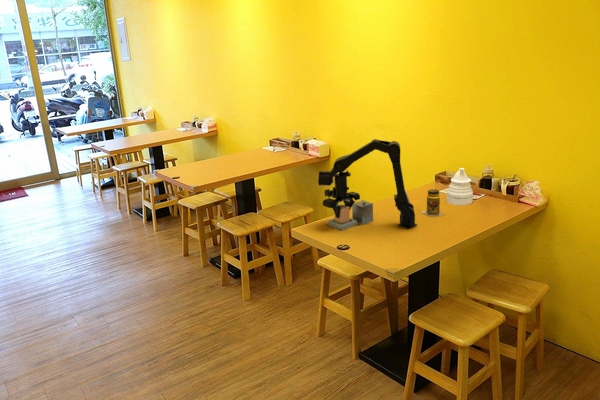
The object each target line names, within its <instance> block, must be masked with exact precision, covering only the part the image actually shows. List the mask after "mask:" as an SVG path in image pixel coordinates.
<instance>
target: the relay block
mask: <svg viewBox="0 0 600 400" xmlns="http://www.w3.org/2000/svg"><path fill="white" fill-rule="evenodd" d="M338 205H339V206H340V215H339V218H337V217H336V215H335V214H334V218H335V221H337V222H339V223H345V222H348V221H350V218H351V217H350V211H351V209H350V207H348V206H345V204H338Z"/></svg>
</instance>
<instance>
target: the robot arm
mask: <svg viewBox="0 0 600 400" xmlns="http://www.w3.org/2000/svg"><path fill="white" fill-rule="evenodd" d="M375 150H376V151H380V152H381V153H385V154H388V157H389V160H390V162H391V164H392V170H393V176H394V181H395V188H396V194H393V199H394V204H395V208H397V211H399V213H400V214H399V223H398V224H397V226H399V227H402V228H405V229H408V230H409V229H411V228H414V227H417V226H418V223H416V214H415V206H414V205H413V204H412V203H411V202H410V199H409V196H408V194H407V192H406V189H405V183H404V182H405V181H404V177H403V176H404V175H403V170H402V164H401V163H402V162H401V145H400V143H399V142H398V141H395V140H391V141H388V140H381V139H376V138H374V139H372V140H371V141H370V142H368V143H366V144H365V145H362V146H361V147H360V148H358V149H357V150H354V151H353V152H351V153H350V154H346V155H343V156H340V157H337V158H336V159H335V161H334V164H333V166H332V168H331V170H326V171H325V170H324V171H323V170H319V171H318V179H317V181H318V183H317V184H318V186H322V187H323V186H328V187H329V186H332V184H334V186H333V187H332V189H331V190H330V188H328V189H324V192H323V193H324V197H328V198H325V199H323V200H322V207H326V208H329V209H332V211H333V212H334V213H333V214H334V216H335V215H336V217H337V218H339V215H340V206H339V205H340V204H339V203H341V202H343V203H344V204H343V205H345V206H348V207H350V210H352V205H353V203H355V202H356V201H358V200H359V201H360V199H361V195H360V193H359V192H355V191H350V192H348V191H349V190H350V187H349V186H348V177H351V176H352V172H350V171H349V170H347V169H348V168H350V166H351V165H352V164H354V163H355V162H357V161H359V160H360V159H361V158H363V157H365V156H367V155H368V154H370V153H372V152H374V151H375Z"/></svg>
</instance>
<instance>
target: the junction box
mask: <svg viewBox="0 0 600 400" xmlns="http://www.w3.org/2000/svg"><path fill="white" fill-rule="evenodd" d="M351 215H352V216H351V217H352V218H351V219H354V220H356V221H357V224H359V225H362V226H363V225H366V224H368V223H372V222H374V203H373V202H370V201H367V200H363V199H362V200H359V201H355V203H353V205H352V207H351Z"/></svg>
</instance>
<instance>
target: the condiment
mask: <svg viewBox="0 0 600 400" xmlns="http://www.w3.org/2000/svg"><path fill="white" fill-rule="evenodd" d="M440 196H441V195H440V190H439V189H436V188H435V189H433V188H431V189H429V190H427V195H426V210H424V211H421V213H422V214H425V215H427V216H429V217H437V216H438V217H439V216H441V215H444V213H442V212H441V211H440V210H441V208H440V205H441V203H440V202H441V201H440V200H441V197H440Z"/></svg>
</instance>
